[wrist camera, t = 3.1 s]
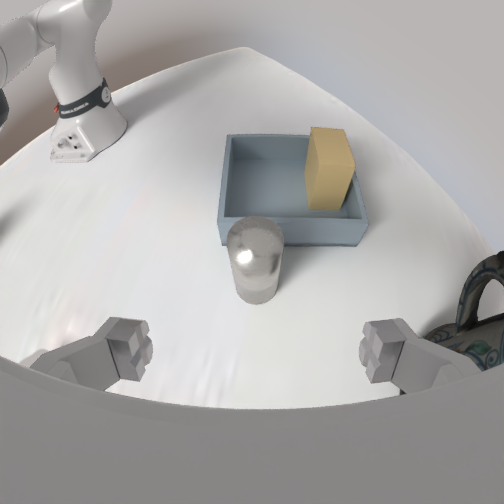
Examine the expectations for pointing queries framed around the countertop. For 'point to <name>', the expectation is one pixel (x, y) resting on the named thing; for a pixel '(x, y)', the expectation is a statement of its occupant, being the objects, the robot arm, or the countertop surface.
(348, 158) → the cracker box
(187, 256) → the countertop surface
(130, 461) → the robot arm
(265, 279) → the tin
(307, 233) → the tote
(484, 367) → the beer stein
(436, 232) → the countertop surface
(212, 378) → the countertop surface
